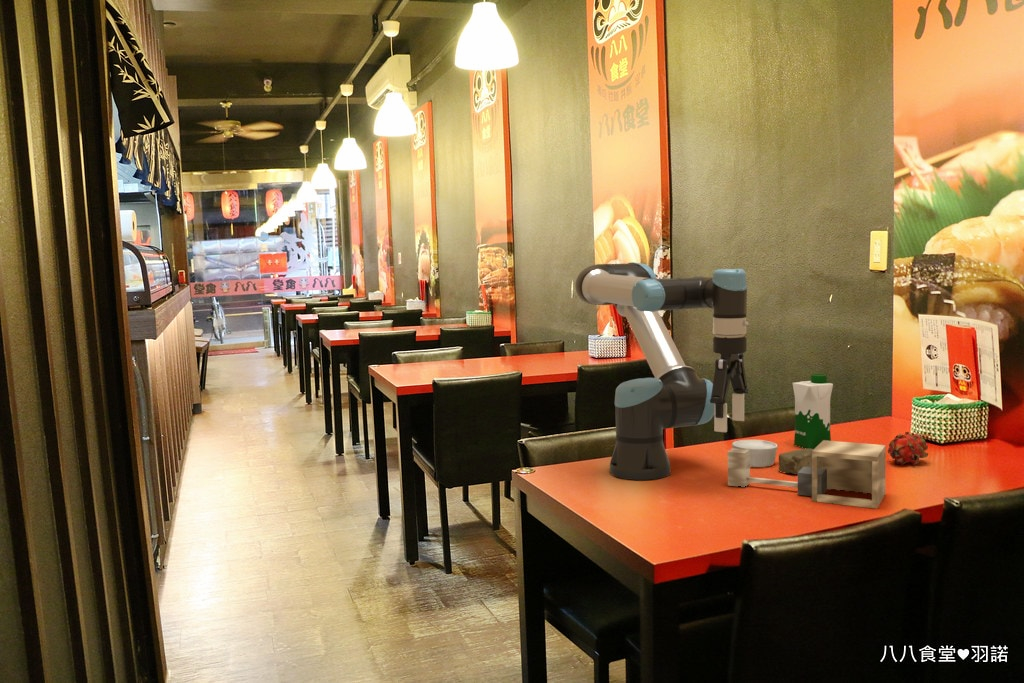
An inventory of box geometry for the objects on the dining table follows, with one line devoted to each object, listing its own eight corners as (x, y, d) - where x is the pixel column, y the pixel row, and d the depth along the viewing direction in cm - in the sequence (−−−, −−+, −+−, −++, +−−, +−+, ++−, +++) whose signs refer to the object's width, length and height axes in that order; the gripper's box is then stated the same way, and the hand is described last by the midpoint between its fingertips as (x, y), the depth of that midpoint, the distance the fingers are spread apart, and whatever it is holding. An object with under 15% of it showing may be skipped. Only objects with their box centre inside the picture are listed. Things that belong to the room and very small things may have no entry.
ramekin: (787, 465, 207) (787, 445, 207) (751, 471, 203) (750, 450, 203) (758, 457, 218) (758, 437, 217) (723, 461, 213) (723, 442, 213)
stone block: (825, 469, 203) (825, 449, 202) (795, 477, 196) (795, 457, 196) (806, 465, 207) (806, 446, 207) (776, 472, 201) (775, 453, 201)
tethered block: (726, 486, 189) (726, 452, 188) (734, 480, 194) (734, 447, 193) (821, 497, 178) (821, 461, 177) (826, 490, 183) (826, 455, 182)
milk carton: (836, 448, 224) (836, 376, 222) (808, 451, 221) (808, 378, 219) (815, 442, 232) (815, 372, 230) (788, 445, 229) (788, 375, 228)
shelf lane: (811, 501, 176) (811, 451, 175) (823, 487, 186) (823, 440, 185) (877, 508, 169) (877, 456, 168) (885, 494, 179) (885, 445, 178)
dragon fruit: (924, 466, 208) (897, 480, 202) (898, 443, 213) (870, 456, 207) (942, 443, 203) (915, 457, 197) (914, 420, 208) (887, 433, 202)
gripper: (729, 341, 176) (729, 438, 178) (760, 331, 197) (760, 417, 199) (695, 340, 180) (696, 434, 182) (730, 330, 201) (730, 414, 203)
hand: (729, 426), depth 191 cm, fingers open, 13 cm apart
